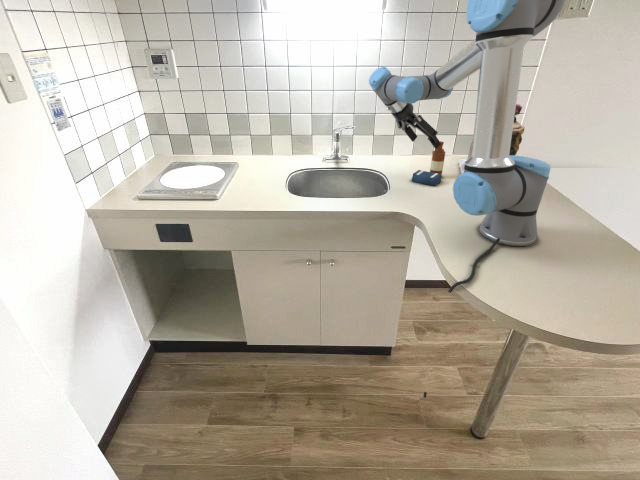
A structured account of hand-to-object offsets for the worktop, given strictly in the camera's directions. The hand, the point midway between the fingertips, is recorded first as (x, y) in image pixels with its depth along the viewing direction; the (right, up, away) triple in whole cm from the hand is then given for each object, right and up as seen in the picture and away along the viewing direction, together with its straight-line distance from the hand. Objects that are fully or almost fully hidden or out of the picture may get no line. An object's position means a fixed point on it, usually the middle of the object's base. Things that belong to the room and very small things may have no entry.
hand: (426, 142), depth 139 cm
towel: (+2, -15, +6) cm, 16 cm away
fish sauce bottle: (+7, -12, +11) cm, 18 cm away
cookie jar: (+32, -10, +14) cm, 36 cm away
